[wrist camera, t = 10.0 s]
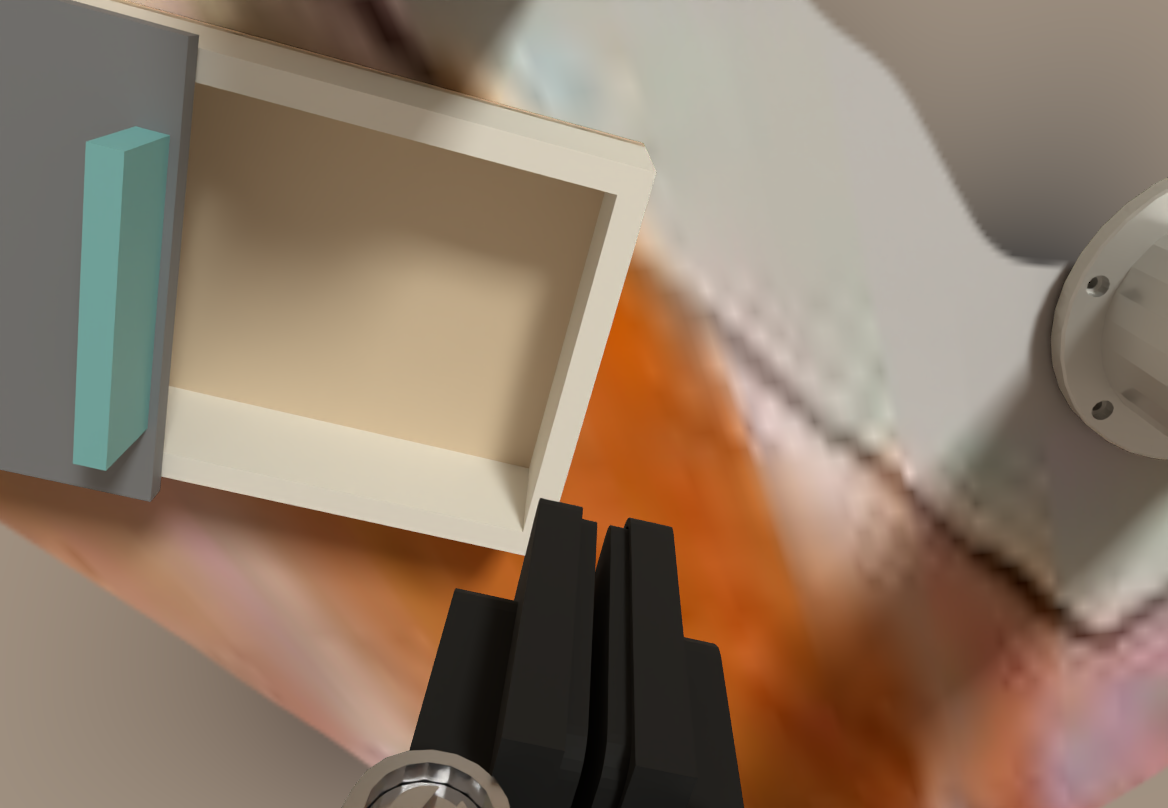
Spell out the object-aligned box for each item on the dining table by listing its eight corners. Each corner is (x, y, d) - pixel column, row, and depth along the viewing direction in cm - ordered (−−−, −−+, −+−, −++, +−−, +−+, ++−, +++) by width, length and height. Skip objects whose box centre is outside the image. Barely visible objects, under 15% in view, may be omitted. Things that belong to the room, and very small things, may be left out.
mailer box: (643, 143, 34) (656, 172, 29) (546, 482, 40) (542, 559, 35) (95, -8, 32) (-5, -8, 26) (78, 375, 38) (-5, 440, 32)
